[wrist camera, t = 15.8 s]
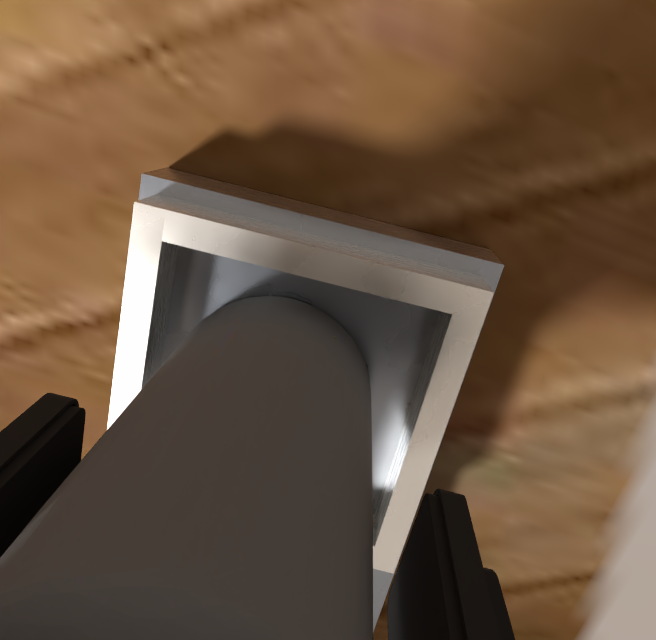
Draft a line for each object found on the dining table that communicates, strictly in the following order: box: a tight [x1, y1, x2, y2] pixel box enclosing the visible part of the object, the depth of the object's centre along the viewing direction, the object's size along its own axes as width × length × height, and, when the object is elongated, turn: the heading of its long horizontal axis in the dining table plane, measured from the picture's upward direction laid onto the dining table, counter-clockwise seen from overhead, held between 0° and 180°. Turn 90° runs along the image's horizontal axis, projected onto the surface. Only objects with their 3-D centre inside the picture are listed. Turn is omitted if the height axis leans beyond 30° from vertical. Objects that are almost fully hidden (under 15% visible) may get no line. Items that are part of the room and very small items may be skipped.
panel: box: [107, 168, 504, 632], centre depth 19 cm, size 19×10×4 cm, turn 166°
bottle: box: [0, 296, 373, 640], centre depth 10 cm, size 6×6×15 cm
